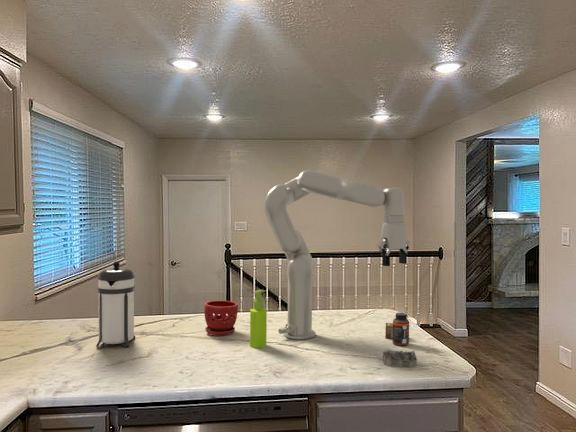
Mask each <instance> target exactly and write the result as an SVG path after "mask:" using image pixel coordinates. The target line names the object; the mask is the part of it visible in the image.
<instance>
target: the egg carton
mask: <svg viewBox="0 0 576 432" xmlns="http://www.w3.org/2000/svg"><path fill="white" fill-rule="evenodd" d="M382 360H383V365H384V366H386V367H387V366H388V367H393V366H397V367H398V368H402V367H408V368H412V369H413V368H416V367H417V362H418V359H417V355H416V352H415V350H412V351H407V350H406V351H403V350H399V351H398V350H396V351H395V350H391V349H386V350H384V351H383V352H382Z"/></svg>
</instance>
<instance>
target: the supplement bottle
mask: <svg viewBox="0 0 576 432" xmlns="http://www.w3.org/2000/svg"><path fill="white" fill-rule="evenodd" d="M407 317H408V316H407V313H405V312H397V313H395V318H394V319H392V323H393V339H391V340H392V344H393V345H394V346H399V347H405V346H408V345H409V343H410V320H409V319H408V318H407Z"/></svg>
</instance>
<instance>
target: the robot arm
mask: <svg viewBox="0 0 576 432" xmlns="http://www.w3.org/2000/svg"><path fill="white" fill-rule="evenodd" d="M404 192H405V191H404V189H403V188H402V187H386V188H380V187H377V186H374V185H370V184H366V183H362V182H358V181H354V180H353V181H352V180H350V179H347V178H344V177H339V176H336V175H331V174H328V173H325V172H319V171H316V170H310V169H305V170H302V171H301V172H300V173H299V175H298V176H296V177H294V178H293V179H291V180H289V181H287V182H285V183H279V184H276V185H275V186H273V187H272V188H271V189H270V190H269V191H268V193H267V194H266V197H265V199H264V205H263V206H264V208H263V210H264V213H265V218H266V220H267V222H268V225H269V227H270V229H271V232H272V234H273V236H274V238H275V241H276V243H277V246H278V249H280V251H281V252H282V253H284V255H285V257H286V259H287V263H288V264H287V267H286V268H287V273H286V274H287V323H286V324H285V327H282V328H278V334H280V335H282V334H283V336H284V337H285V338H288V339H293V340H310V339H312V338H315V337H316V331H315V330H314V329H313V328H312V327H313V325H312V322H313V321H312V317H313V314H312V313H313V269H314V260H313V258H312V255H311V253H310V250H309V247H308V246H307V244H306V242H305V239H304V238H303V235H302V234H301V232H300V231H299V230H298V229H296V228H295V226H294V224H293V221H292V219H291V217H290V215H289V213H288V211H287V206H289V205H291V204H293V203H295V202H297V201H299V200H301V199H302V198H304V197H306V196H308V195H310V194H313V195H318V196H322V197H326V198H329V199H335V200H338V201H348V202H352V203H354V204H355V203H356V204H360V205H363V206H367V207H370V208H378V207H383V224H382V227H381V232H380V233H381V234H380V235H381V236H380V242H379V243H378V244H377V246H378V250H379V253H380V255H381V257H382V260H381V263H382V266H384V267H390V266H391V256H390V255H389V254H390V253H391V251H396V250H397V251H398V250H399V252H398V263H399V264H401V265H402V264H403V265H405V264H407V254H408V250H409V248H410V245H411V241H410V240H409V239H408V238H407V232H406V231H407V230H406V225H405V200H404V198H405V193H404Z"/></svg>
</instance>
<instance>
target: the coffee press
mask: <svg viewBox="0 0 576 432" xmlns="http://www.w3.org/2000/svg"><path fill="white" fill-rule="evenodd" d="M96 278H97V281H98V287H97V293H98V342H97V343H96V345H95V346H96V348H97V349H102V348H103V346H104V345H106V344H108V345H115V344H116V345H117V344H122V345H123V347H124V348H125V349H126V348H129V347H130V345H131V344H130V342H129V341H131V340H132V341H135V339H136V335H135V285H136V284H135V278H136V275H135V274H134V271H133V270H131V268H127V267H126V268H125V267H120V262H119V261H114V262H113V264H112V267H110V268H105V269H103V270H101V271H100V272H99V273H98V276H97V277H96Z"/></svg>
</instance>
